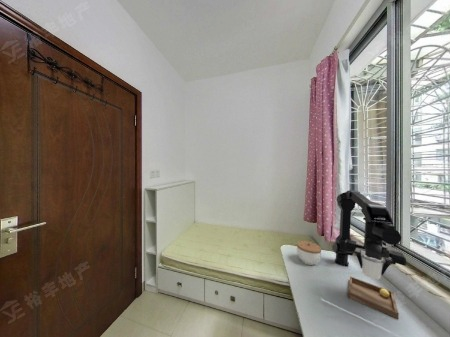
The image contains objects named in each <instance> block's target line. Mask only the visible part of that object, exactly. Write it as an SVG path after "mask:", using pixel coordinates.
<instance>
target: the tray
mask: <svg viewBox="0 0 450 337" xmlns="http://www.w3.org/2000/svg"><path fill="white" fill-rule="evenodd" d="M380 289H385V288H383V287H380V286H377V285H374V284H372V283H371V282H367V281H364V280H362V279H359V278H356V277H353V276H349V282H348V292H347V298H348V299H351V300H353V301H355V302H357V303H360V304H362V305H364V306H367V307H369V308H371V309H373V310H376V311H378V312H381V313H383V314H385V315H388V316H390V317H393V318H395V319H397V320H398V319H399V314H400V313H399V310H398V307H397V306H398V305H397V302H396V298H395V293H394V291H392V290H389V289H386V290H387V291H388V292H389V297H383V296H382V295H381V294H380Z"/></svg>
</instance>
